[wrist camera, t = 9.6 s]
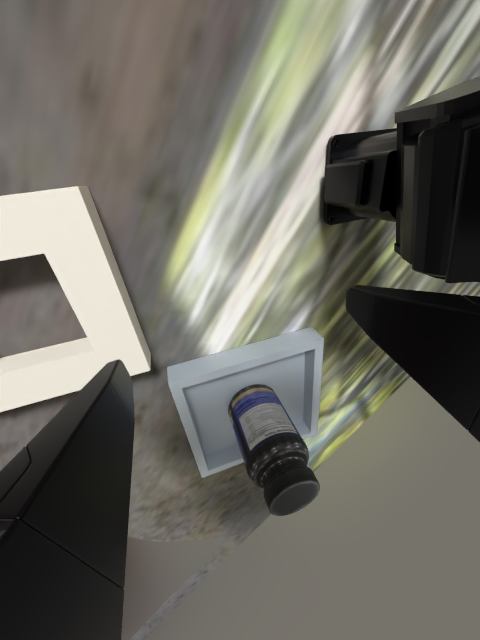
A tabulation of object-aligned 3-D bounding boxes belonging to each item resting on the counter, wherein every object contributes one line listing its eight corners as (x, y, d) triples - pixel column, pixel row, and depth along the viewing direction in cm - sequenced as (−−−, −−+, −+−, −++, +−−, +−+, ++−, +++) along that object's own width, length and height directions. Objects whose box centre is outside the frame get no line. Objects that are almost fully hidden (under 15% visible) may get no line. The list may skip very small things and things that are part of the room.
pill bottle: (265, 419, 32) (310, 514, 23) (220, 421, 30) (251, 528, 20) (281, 382, 30) (339, 471, 20) (235, 380, 27) (276, 481, 18)
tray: (311, 326, 28) (323, 338, 26) (307, 420, 36) (317, 434, 34) (167, 367, 25) (168, 383, 22) (199, 459, 33) (202, 478, 30)
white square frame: (87, 186, 16) (78, 186, 14) (150, 353, 23) (150, 370, 21) (-188, 221, 13) (-251, 227, 11) (-22, 399, 21) (-42, 423, 18)
